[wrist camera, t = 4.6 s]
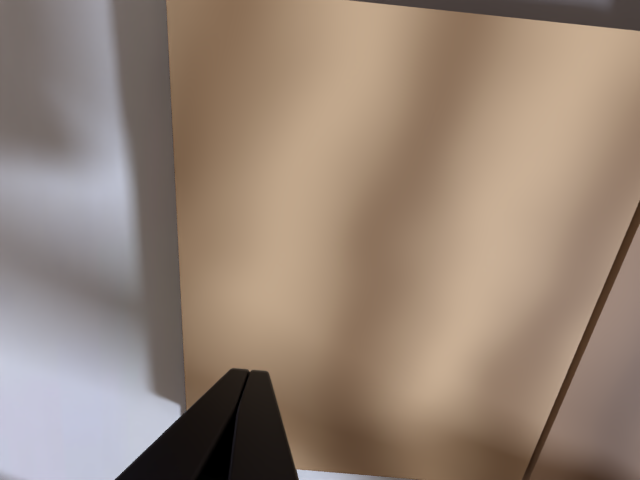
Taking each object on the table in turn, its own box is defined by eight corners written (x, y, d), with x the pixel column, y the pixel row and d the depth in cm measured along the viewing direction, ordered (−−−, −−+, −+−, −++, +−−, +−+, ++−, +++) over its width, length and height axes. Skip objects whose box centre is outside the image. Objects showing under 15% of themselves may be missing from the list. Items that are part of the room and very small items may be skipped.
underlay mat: (908, 20, 11) (928, 17, 11) (640, 475, 19) (647, 483, 18) (169, -60, 11) (164, -65, 11) (191, 438, 18) (188, 445, 18)
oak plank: (651, 46, 11) (708, 38, 10) (499, 450, 17) (518, 487, 16) (189, -2, 11) (165, -20, 9) (202, 424, 17) (188, 460, 16)
